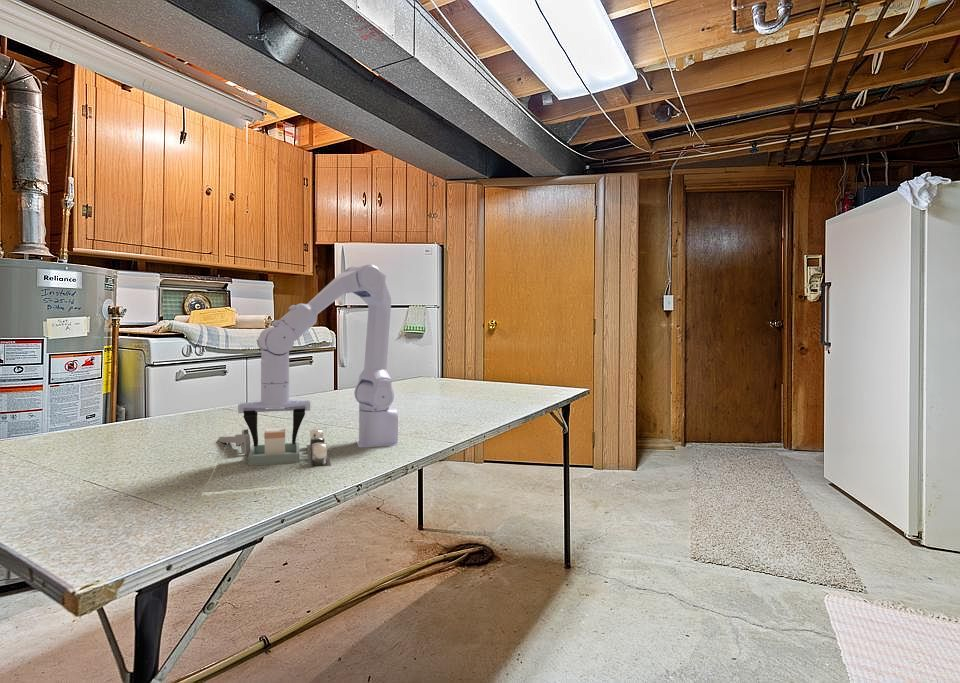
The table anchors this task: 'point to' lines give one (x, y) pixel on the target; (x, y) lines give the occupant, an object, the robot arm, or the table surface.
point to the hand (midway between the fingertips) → (275, 444)
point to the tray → (260, 458)
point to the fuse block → (317, 449)
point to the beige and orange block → (274, 441)
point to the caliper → (239, 441)
